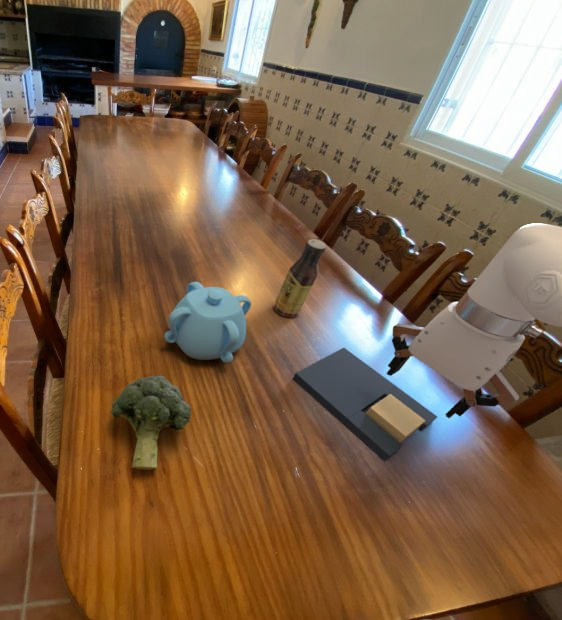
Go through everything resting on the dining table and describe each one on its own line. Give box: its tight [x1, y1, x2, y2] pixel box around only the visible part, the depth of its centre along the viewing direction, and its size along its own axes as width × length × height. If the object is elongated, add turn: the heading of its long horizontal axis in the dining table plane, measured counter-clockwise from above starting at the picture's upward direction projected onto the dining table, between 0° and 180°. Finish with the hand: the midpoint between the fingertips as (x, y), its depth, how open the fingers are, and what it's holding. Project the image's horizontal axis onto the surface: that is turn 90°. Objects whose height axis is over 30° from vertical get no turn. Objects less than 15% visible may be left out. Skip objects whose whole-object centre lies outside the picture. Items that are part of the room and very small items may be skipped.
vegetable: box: [110, 374, 192, 470], centre depth 58 cm, size 12×13×15 cm
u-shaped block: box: [292, 347, 438, 462], centre depth 70 cm, size 20×16×2 cm
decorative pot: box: [163, 281, 252, 364], centre depth 76 cm, size 16×16×14 cm
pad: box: [365, 394, 425, 444], centre depth 66 cm, size 7×7×3 cm
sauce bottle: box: [273, 238, 327, 318], centre depth 84 cm, size 7×6×20 cm
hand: (420, 391), depth 60 cm, fingers open, 9 cm apart
